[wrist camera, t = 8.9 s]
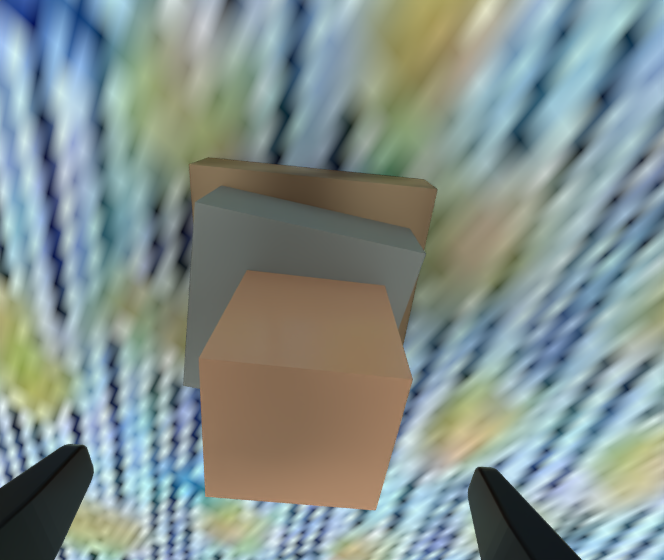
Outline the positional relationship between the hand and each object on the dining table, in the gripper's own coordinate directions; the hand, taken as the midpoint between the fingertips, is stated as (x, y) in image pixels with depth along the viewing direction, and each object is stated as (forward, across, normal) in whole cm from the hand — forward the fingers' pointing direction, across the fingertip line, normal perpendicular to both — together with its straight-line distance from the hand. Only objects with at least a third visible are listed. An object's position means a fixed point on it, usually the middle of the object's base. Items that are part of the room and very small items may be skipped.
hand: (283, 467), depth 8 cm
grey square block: (+9, 0, 0) cm, 9 cm away
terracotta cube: (+6, 0, 0) cm, 6 cm away
